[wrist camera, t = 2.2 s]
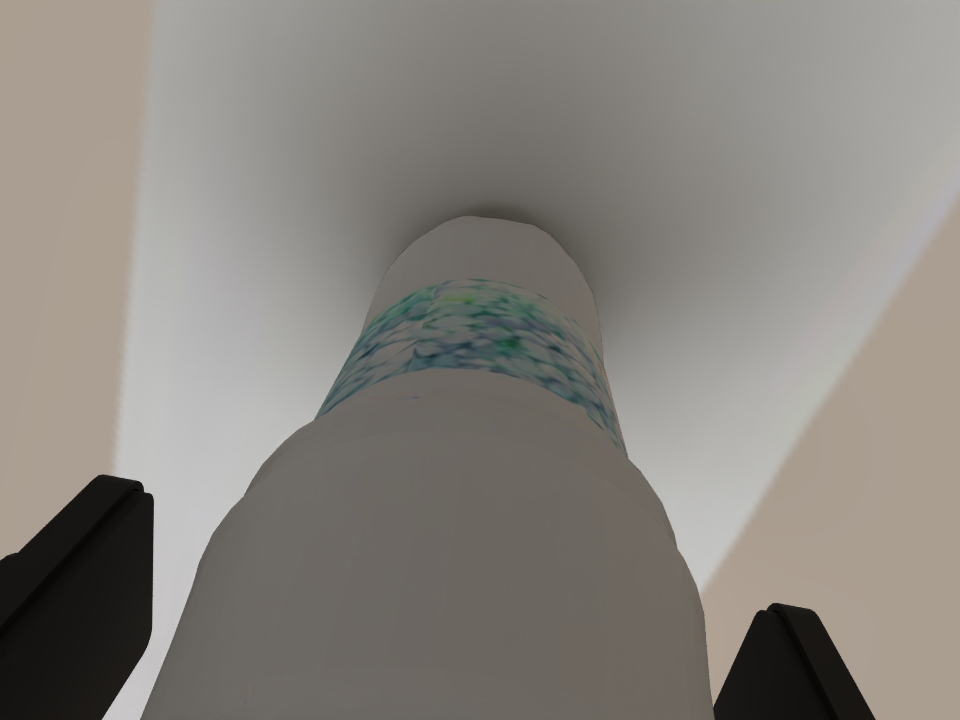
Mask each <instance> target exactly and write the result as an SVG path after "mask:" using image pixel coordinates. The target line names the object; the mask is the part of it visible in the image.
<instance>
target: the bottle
mask: <svg viewBox="0 0 960 720" xmlns="http://www.w3.org/2000/svg"><path fill="white" fill-rule="evenodd" d="M140 720H715V718H714V711H713V704H712V698H711V690H710V681H709V669H708V657H707V645H706V632H705V619H704V612H703V608H702V604H701V600H700V597H699V593H698V589H697V586H696V583H695V581H694V579H693V577H692V575H691V573H690V570H689V568H688V566H687V564H686V562H685V560H684V558H683V556H682V555H681V554H680V552H679V551H678V549H677V545H676V540H675V535H674V532H673V530H672V527H671V524H670V522H669V519H668V517H667V514H666V512H665V509H664V507H663V504H662V502H661V500H660V499H659V498H658V496H657V495H656V493H655V492H654V490H653V489H652V487H651V486H650V484H649V483H648V481H647V480H646V479H645V477H644V476H643V474H642V473H641V471H640V470H639V469H638V468H637V467H636V466H635V465H634V464H633V463H632V462H631V461H630V460H629V459H628V455H627V451H626V447H625V444H624V440H623V436H622V432H621V429H620V425H619V421H618V417H617V413H616V410H615V406H614V402H613V398H612V395H611V391H610V387H609V383H608V380H607V376H606V372H605V369H604V362H603V349H602V340H601V332H600V324H599V319H598V313H597V308H596V304H595V301H594V298H593V295H592V292H591V289H590V287H589V285H588V283H587V281H586V280H585V278H584V276H583V274H582V273H581V271H580V269H579V267H578V266H577V264H576V263H575V262H574V261H573V259H572V258H571V257H570V256H569V255H568V254H567V253H566V251H565V250H564V249H563V248H562V247H561V246H560V245H559V243H558V242H557V241H556V240H555V239H554V238H553V237H551V236H550V235H549V234H548V233H547V232H545V231H543V230H541V229H540V228H538V227H536V226H534V225H532V224H525V223H520V222H515V221H510V220H504V219H497V218H485V217H477V216H462V217H458V218H454V219H451V220H448V221H446V222H444V223H442V224H440V225H439V226H437V227H436V228H434V229H432V230H431V231H429V232H428V233H426V234H425V235H423V236H421V237H420V238H418V239H417V240H416V241H414V242H413V243H412V244H411V245H410V246H409V247H408V248H407V249H405V250H404V251H403V252H402V253H401V254H400V255H399V256H398V258H397V259H396V260H395V261H394V263H393V264H392V265H391V267H390V268H389V269H388V271H387V272H386V274H385V276H384V277H383V279H382V281H381V283H380V285H379V287H378V289H377V292H376V294H375V296H374V299H373V301H372V304H371V306H370V308H369V311H368V314H367V317H366V320H365V323H364V326H363V329H362V332H361V335H360V337H359V339H358V340H357V342H356V344H355V346H354V348H353V349H352V351H351V353H350V355H349V357H348V359H347V360H346V362H345V364H344V366H343V368H342V370H341V371H340V373H339V375H338V377H337V379H336V381H335V382H334V384H333V386H332V388H331V390H330V392H329V393H328V395H327V397H326V399H325V401H324V402H323V404H322V406H321V408H320V410H319V412H318V413H317V415H316V417H315V419H314V421H312V422H310V423H309V424H307V425H305V426H303V427H302V428H300V429H298V430H297V431H296V432H295V433H294V434H292V435H291V436H290V437H289V438H288V439H287V440H285V441H284V442H283V443H282V444H281V445H280V446H279V447H278V448H277V450H276V451H275V452H274V453H273V454H272V455H271V456H270V457H269V458H268V459H267V460H266V461H265V462H264V463H263V464H262V466H261V467H260V469H259V471H258V472H257V474H256V475H255V477H254V478H253V480H252V481H251V483H250V485H249V487H248V489H247V491H246V493H245V495H244V497H243V498H242V499H241V500H240V501H239V502H238V503H237V504H236V505H235V506H233V507H232V508H231V510H230V511H229V512H228V514H227V515H226V516H225V518H224V519H223V521H222V522H221V523H220V525H219V526H218V527H217V529H216V530H215V531H214V533H213V534H212V537H211V539H210V541H209V543H208V545H207V547H206V549H205V551H204V553H203V555H202V558H201V560H200V562H199V565H198V568H197V572H196V576H195V579H194V582H193V586H192V589H191V591H190V594H189V597H188V599H187V602H186V605H185V608H184V610H183V613H182V616H181V618H180V621H179V624H178V627H177V629H176V632H175V635H174V637H173V640H172V643H171V645H170V648H169V650H168V653H167V655H166V657H165V660H164V662H163V665H162V667H161V670H160V672H159V675H158V677H157V680H156V682H155V684H154V687H153V689H152V692H151V694H150V697H149V699H148V702H147V704H146V707H145V709H144V711H143V714H142V716H141V719H140Z"/></svg>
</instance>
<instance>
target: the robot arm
mask: <svg viewBox="0 0 960 720" xmlns="http://www.w3.org/2000/svg"><path fill="white" fill-rule="evenodd" d="M153 528H154V499H153V496H152V494H150V493H145V492H144V487H143V485H142V483H141V482H139V481H135V480H130V479H125V478H119V477H114V476H109V475H98V476H97V477H96V478H94V479H93V480H92V481H91V482H90V483H89V484H88V485H87V486H86V487H85V488H84V489H83V490H82V491H81V492H80V493H79V494H78V495H77V496H76V497H75V498H74V499H73V500H72V501H70V502H69V504H67V505H66V506H65V507H64V508H63V509H62V510H61V511H60V512H59V513H58V514H57V515H56V516H55V517H54V518H53V519H52V520H51V521H50V522H49V523H48V524H47V525H46V526H45V527H44V528H43V529H42V530H41V531H40V532H39V533H38V534H37V535H36V536H34V538H32V539H31V540H30V541H29V542H28V543H27V544H26V545H25V546H24V547H23V548H22V549H21V550H20V551H19V552H18V553H14V554H11V555H8V556H6V557H5V558H3V559H2V560H0V720H102V718H103V717H104V715H105V714H106V712H107V711H108V709H109V707H110V706H111V704H112V703H113V701H114V699H115V698H116V696H117V695H118V693H119V692H120V690H121V688H122V687H123V685H124V684H125V682H126V681H127V679H128V677H129V676H130V674H131V673H132V671H133V670H134V668H135V666H136V665H137V663H138V662H139V660H140V659H141V657H142V655H143V654H144V652H145V650H146V648H147V645H148V643H149V640H150V636H151V632H152V601H153ZM713 711H714V718H715V720H876V719H875V718H874V716H873V714H872V712H871V710H870V709H869V707H868V705H867V703H866V702H865V700H864V698H863V696H862V694H861V692H860V691H859V689H858V687H857V685H856V683H855V682H854V680H853V678H852V676H851V675H850V672H849V671H848V669H847V667H846V665H845V664H844V662H843V660H842V658H841V656H840V654H839V653H838V651H837V649H836V647H835V646H834V644H833V642H832V640H831V638H830V636H829V635H828V633H827V631H826V629H825V627H824V626H823V624H822V622H821V620H820V618H819V617H818V615H817V614H816V613H815V612H814V611H812V610H811V609H806V608H801V607H795V606H790V605H784V604H780V603H773V604H771V605H770V606H769V607H768V608H767V610H766V611H765V610H760V611H758V612H757V613H756V615H755V617H754V619H753V621H752V624H751V626H750V628H749V630H748V632H747V634H746V636H745V639H744V641H743V643H742V645H741V647H740V650H739V652H738V654H737V656H736V658H735V661H734V663H733V665H732V667H731V669H730V672H729V674H728V676H727V678H726V680H725V683H724V685H723V687H722V689H721V691H720V693H719V696H718V698H717V700H716V703H715V704H714V707H713Z"/></svg>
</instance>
